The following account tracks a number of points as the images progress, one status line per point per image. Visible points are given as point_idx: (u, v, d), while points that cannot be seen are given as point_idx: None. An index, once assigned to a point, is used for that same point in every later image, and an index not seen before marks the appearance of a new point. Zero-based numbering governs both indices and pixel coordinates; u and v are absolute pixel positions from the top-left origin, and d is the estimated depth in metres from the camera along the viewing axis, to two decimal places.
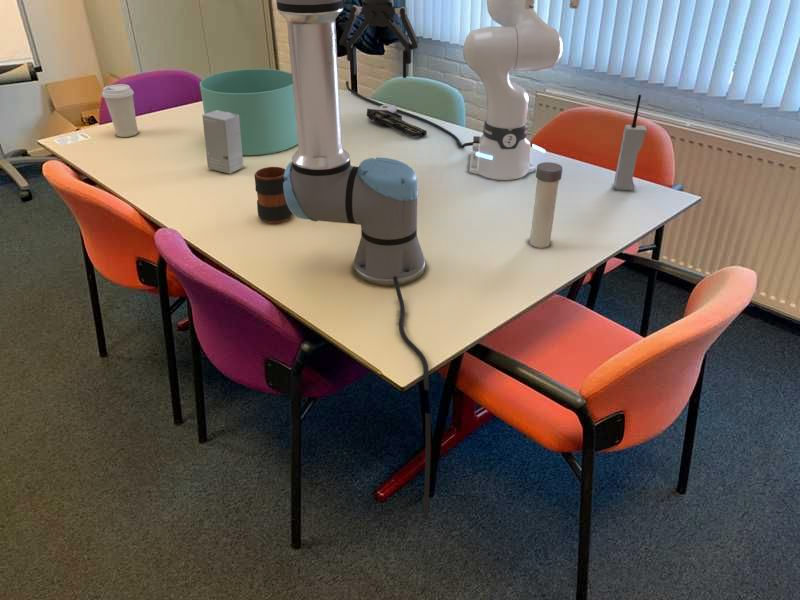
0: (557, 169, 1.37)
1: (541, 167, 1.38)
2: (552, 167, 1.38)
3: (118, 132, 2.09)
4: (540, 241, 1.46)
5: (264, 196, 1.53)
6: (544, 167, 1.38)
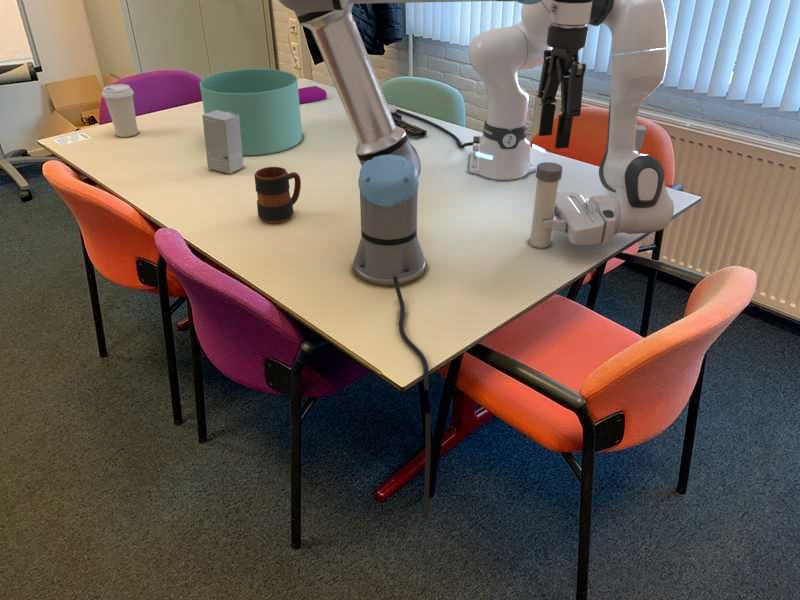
0: (557, 169, 1.37)
1: (541, 167, 1.38)
2: (552, 167, 1.38)
3: (118, 132, 2.09)
4: (540, 241, 1.46)
5: (264, 196, 1.53)
6: (544, 167, 1.38)
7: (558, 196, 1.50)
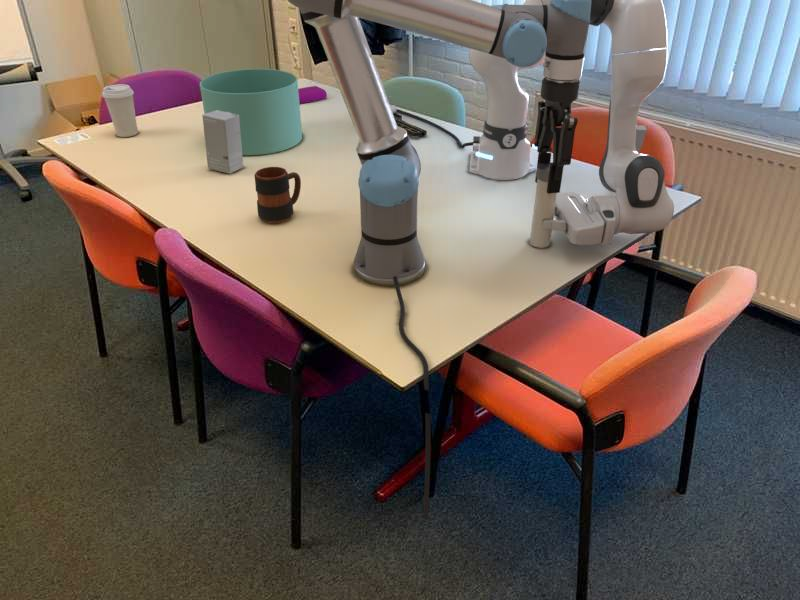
0: None
1: (541, 167, 1.38)
2: None
3: (118, 132, 2.09)
4: (540, 241, 1.46)
5: (264, 196, 1.53)
6: (544, 167, 1.38)
7: (558, 196, 1.50)
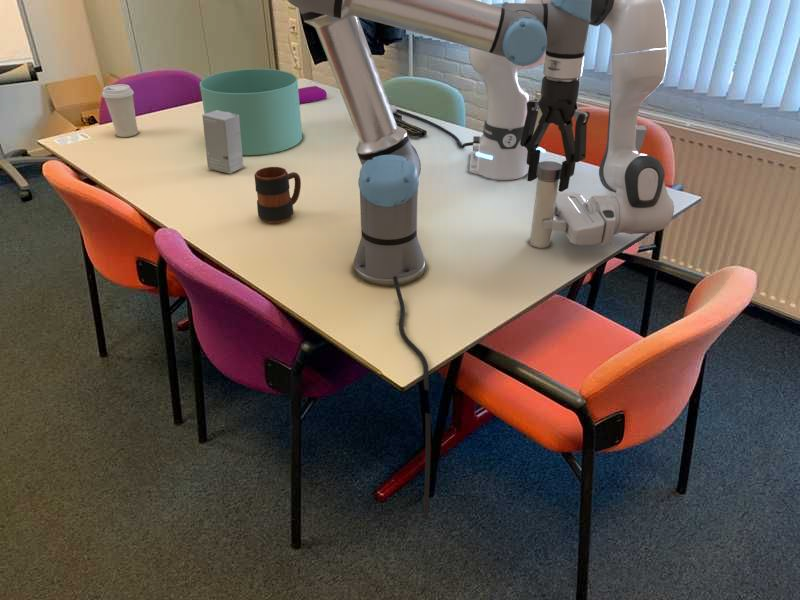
0: (558, 164, 1.39)
1: (551, 168, 1.37)
2: (551, 164, 1.39)
3: (118, 132, 2.09)
4: (540, 241, 1.46)
5: (264, 196, 1.53)
6: (551, 167, 1.37)
7: (558, 196, 1.50)
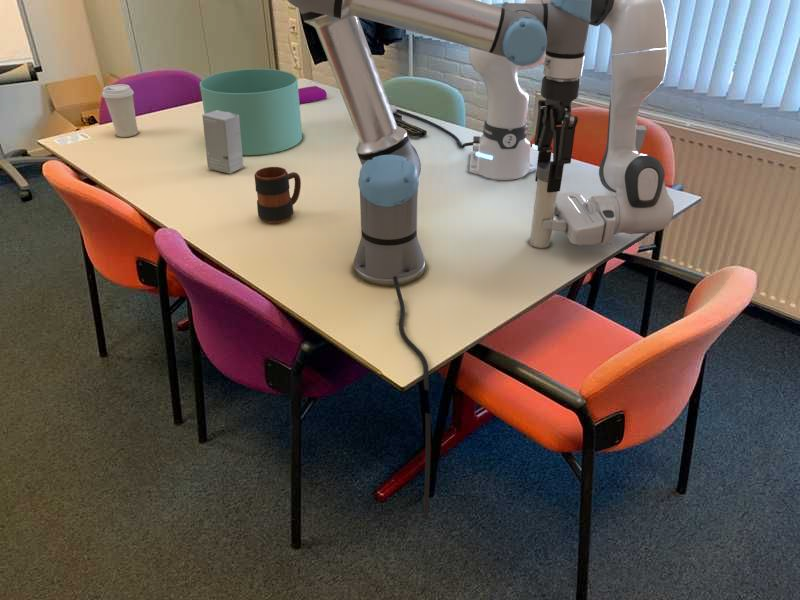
0: None
1: None
2: None
3: (118, 132, 2.09)
4: (540, 241, 1.46)
5: (264, 196, 1.53)
6: None
7: (558, 196, 1.50)
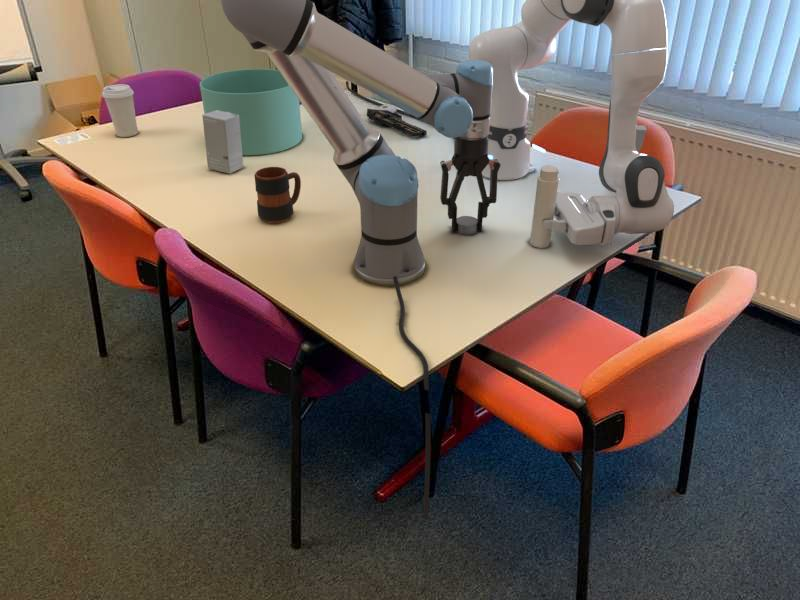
0: (463, 216, 1.55)
1: (474, 221, 1.53)
2: (465, 219, 1.54)
3: (118, 132, 2.09)
4: (540, 241, 1.46)
5: (264, 196, 1.53)
6: (472, 220, 1.53)
7: (558, 196, 1.50)
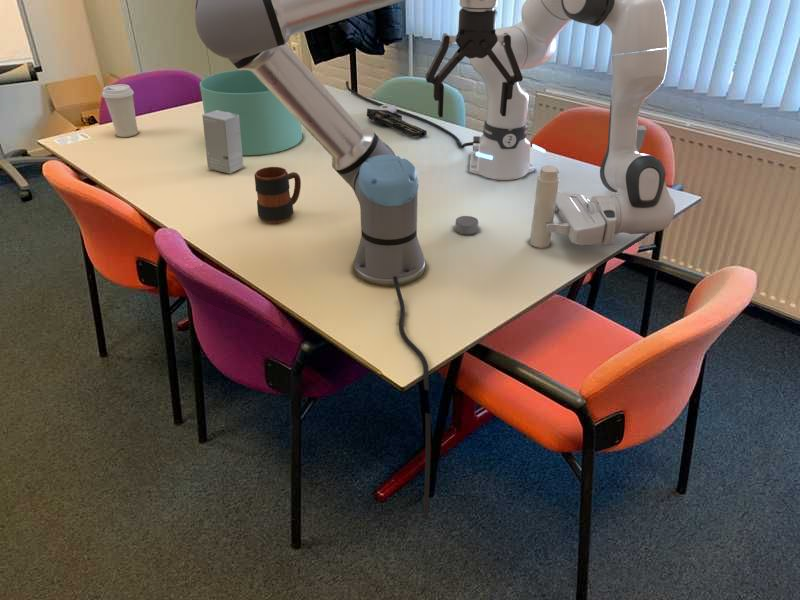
0: (463, 216, 1.55)
1: (474, 221, 1.53)
2: (465, 219, 1.54)
3: (118, 132, 2.09)
4: (540, 241, 1.46)
5: (264, 196, 1.53)
6: (472, 220, 1.53)
7: (559, 196, 1.50)
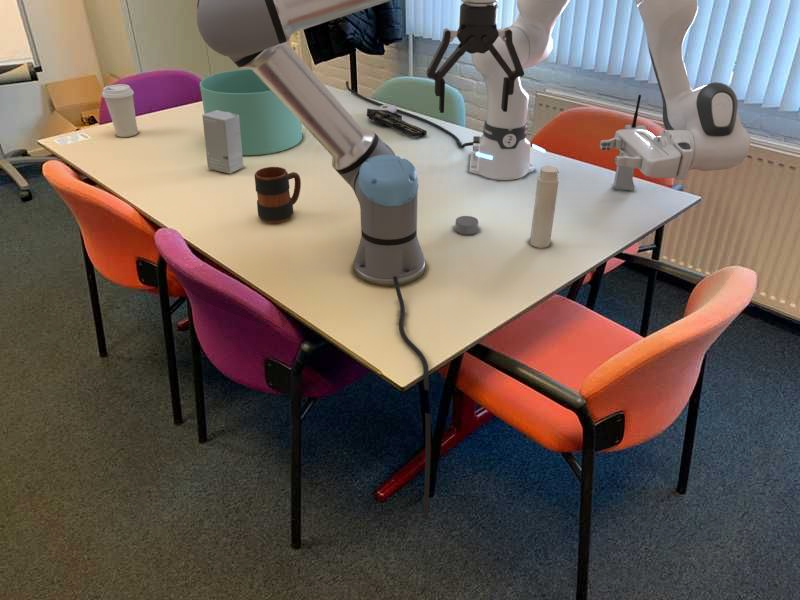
0: (463, 216, 1.55)
1: (474, 221, 1.53)
2: (465, 219, 1.54)
3: (118, 132, 2.09)
4: (540, 241, 1.46)
5: (264, 196, 1.53)
6: (472, 220, 1.53)
7: (626, 132, 1.43)
